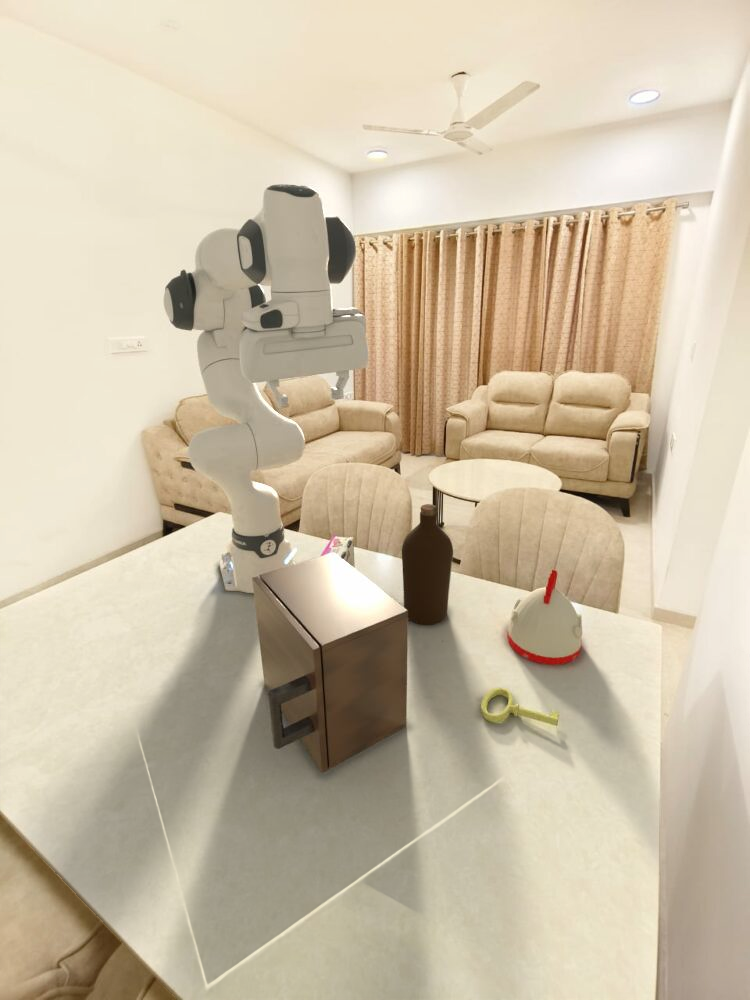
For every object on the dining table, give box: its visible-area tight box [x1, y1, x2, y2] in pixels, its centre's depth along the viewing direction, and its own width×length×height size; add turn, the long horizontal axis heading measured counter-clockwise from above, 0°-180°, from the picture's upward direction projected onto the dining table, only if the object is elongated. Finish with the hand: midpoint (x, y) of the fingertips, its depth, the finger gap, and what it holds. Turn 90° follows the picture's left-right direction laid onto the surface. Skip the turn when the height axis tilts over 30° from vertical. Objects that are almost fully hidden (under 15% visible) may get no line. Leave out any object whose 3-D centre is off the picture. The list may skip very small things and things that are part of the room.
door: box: [252, 576, 329, 773], centre depth 76 cm, size 7×22×22 cm, turn 33°
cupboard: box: [259, 552, 409, 770], centre depth 81 cm, size 14×22×22 cm, turn 33°
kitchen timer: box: [506, 569, 583, 666], centre depth 97 cm, size 14×14×15 cm
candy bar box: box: [320, 535, 356, 569], centre depth 106 cm, size 11×5×16 cm, turn 168°
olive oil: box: [401, 503, 454, 626], centre depth 105 cm, size 11×11×25 cm
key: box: [480, 687, 560, 727], centre depth 83 cm, size 7×12×2 cm, turn 78°
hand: (310, 402), depth 80 cm, fingers open, 8 cm apart
